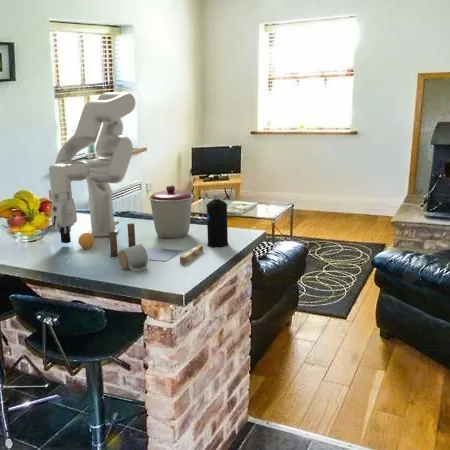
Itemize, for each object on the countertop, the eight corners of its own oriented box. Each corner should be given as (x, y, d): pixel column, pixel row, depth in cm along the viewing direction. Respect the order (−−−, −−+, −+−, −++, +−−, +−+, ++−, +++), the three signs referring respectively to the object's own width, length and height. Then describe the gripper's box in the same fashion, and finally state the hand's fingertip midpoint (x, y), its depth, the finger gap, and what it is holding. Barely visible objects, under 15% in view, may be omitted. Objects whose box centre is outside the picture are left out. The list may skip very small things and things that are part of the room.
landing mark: (148, 247, 214) (148, 247, 214) (182, 250, 209) (182, 250, 209) (130, 258, 201) (130, 257, 201) (165, 261, 196) (165, 261, 196)
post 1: (113, 255, 206) (111, 231, 203) (119, 255, 205) (117, 231, 203) (109, 257, 203) (107, 233, 201) (115, 257, 202) (113, 233, 200)
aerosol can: (231, 243, 218) (230, 192, 213) (223, 248, 210) (221, 196, 206) (212, 241, 221) (211, 191, 216) (203, 246, 214) (201, 195, 209)
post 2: (130, 245, 218) (129, 223, 215) (136, 246, 217) (135, 223, 214) (127, 247, 215) (126, 224, 213) (133, 247, 214) (132, 225, 212)
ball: (85, 245, 219) (83, 230, 218) (98, 246, 217) (97, 231, 216) (76, 249, 214) (74, 234, 212) (89, 250, 212) (88, 235, 210)
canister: (184, 242, 220) (182, 190, 215) (143, 239, 225) (140, 188, 220) (201, 231, 236) (199, 182, 231) (162, 229, 242) (159, 180, 237)
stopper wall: (198, 251, 208) (197, 244, 207) (203, 251, 207) (202, 245, 207) (180, 264, 193) (179, 257, 193) (185, 264, 193) (185, 257, 192)
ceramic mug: (117, 267, 191) (115, 246, 189) (138, 262, 196) (137, 241, 194) (131, 276, 183) (130, 253, 181) (153, 270, 188) (152, 248, 186)
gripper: (57, 200, 206) (62, 248, 210) (81, 193, 219) (85, 238, 224) (41, 199, 208) (45, 246, 213) (65, 192, 222) (69, 237, 226)
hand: (66, 242), depth 218 cm, fingers closed
